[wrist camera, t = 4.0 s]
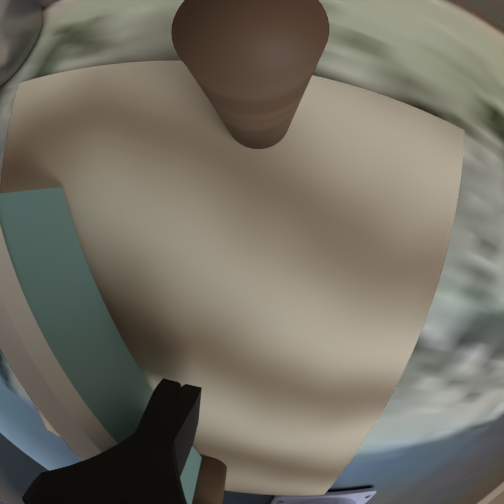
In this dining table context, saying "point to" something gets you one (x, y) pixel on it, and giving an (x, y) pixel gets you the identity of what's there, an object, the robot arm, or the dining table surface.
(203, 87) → the gate frame
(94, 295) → the gate
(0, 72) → the plastic bottle
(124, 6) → the dining table surface
